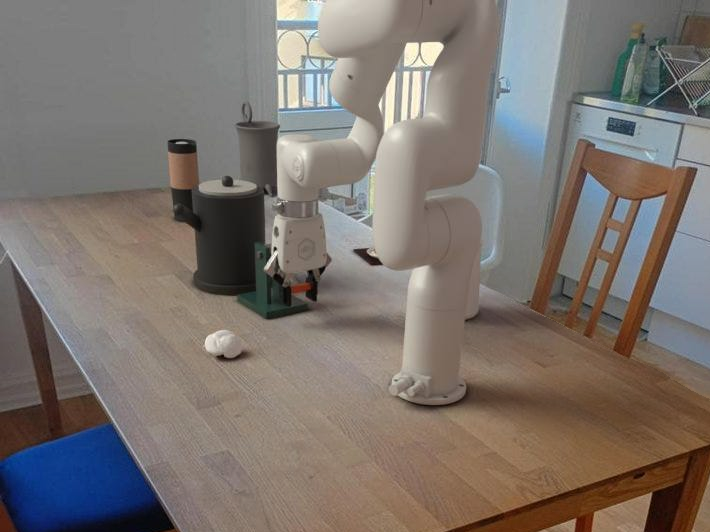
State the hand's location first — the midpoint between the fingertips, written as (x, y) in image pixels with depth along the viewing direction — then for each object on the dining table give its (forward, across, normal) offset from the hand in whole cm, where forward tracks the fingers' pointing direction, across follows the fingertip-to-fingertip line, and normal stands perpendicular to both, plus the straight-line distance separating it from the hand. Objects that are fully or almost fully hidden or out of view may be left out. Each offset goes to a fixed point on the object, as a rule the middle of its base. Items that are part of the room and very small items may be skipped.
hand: (298, 301), depth 155 cm
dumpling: (+4, -21, -7) cm, 22 cm away
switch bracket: (+4, 0, +10) cm, 11 cm away
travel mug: (+4, +15, +80) cm, 82 cm away
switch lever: (-4, 0, +6) cm, 7 cm away
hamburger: (+4, +42, +26) cm, 49 cm away
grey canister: (+4, +50, +100) cm, 112 cm away
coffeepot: (+4, +30, -13) cm, 32 cm away
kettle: (+4, -2, +29) cm, 29 cm away
